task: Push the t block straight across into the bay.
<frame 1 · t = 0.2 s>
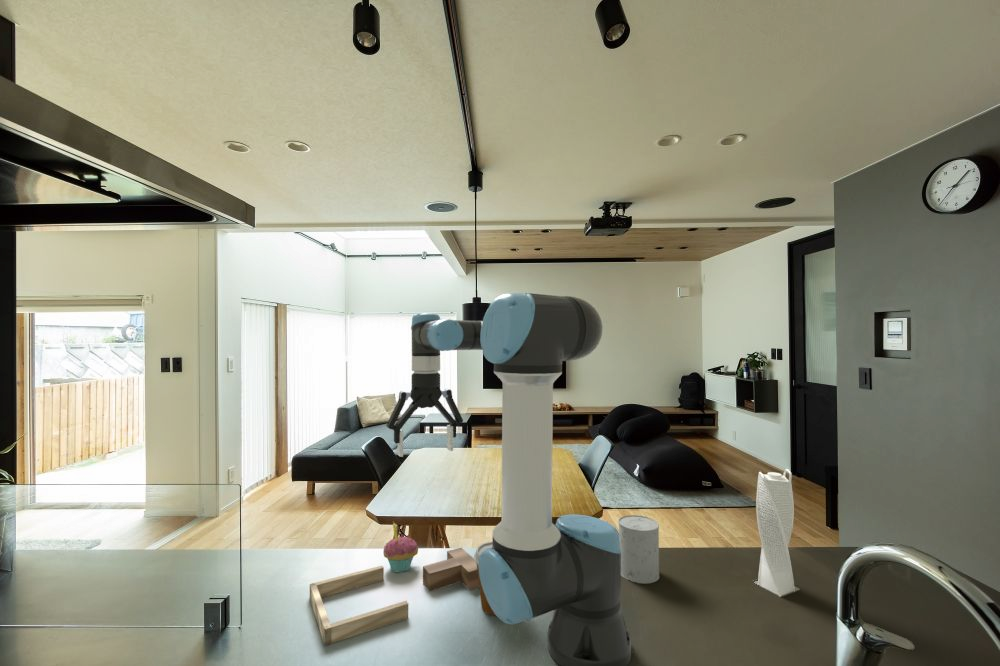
hand: (425, 452, 119), 27 cm above the countertop, fingers open, 13 cm apart
bay: (359, 606, 96), on the countertop
white marble cylinder: (638, 574, 110), on the countertop
t block: (449, 580, 107), on the countertop
disposable coffee cup: (496, 607, 96), on the countertop
cupcake: (400, 568, 113), on the countertop
skyscraper: (776, 590, 103), on the countertop
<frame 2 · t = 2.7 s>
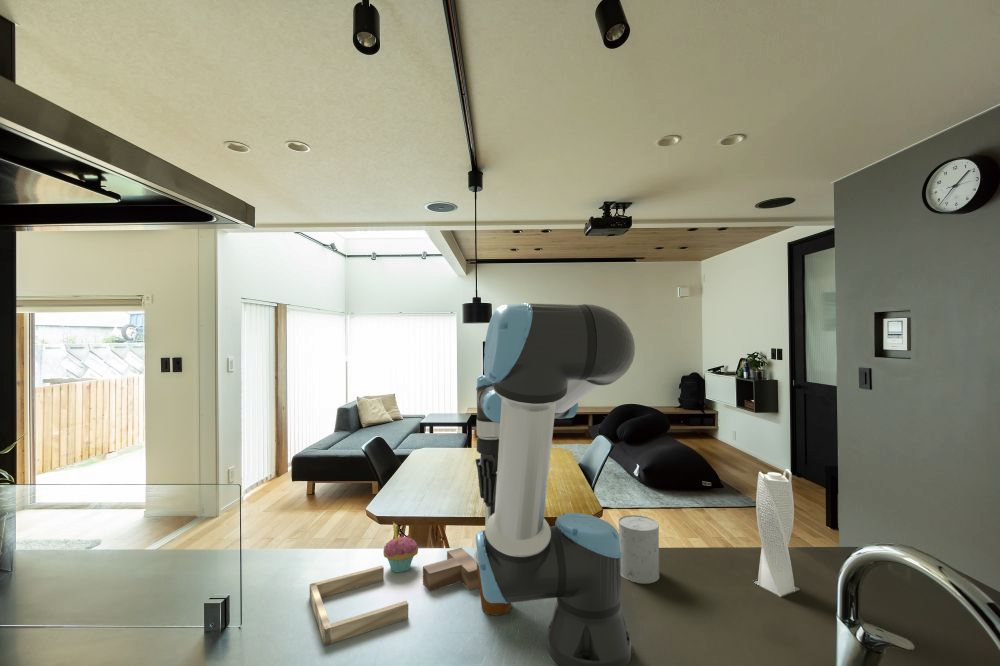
hand: (491, 529, 113), 9 cm above the countertop, fingers closed
nothing on the countertop moved.
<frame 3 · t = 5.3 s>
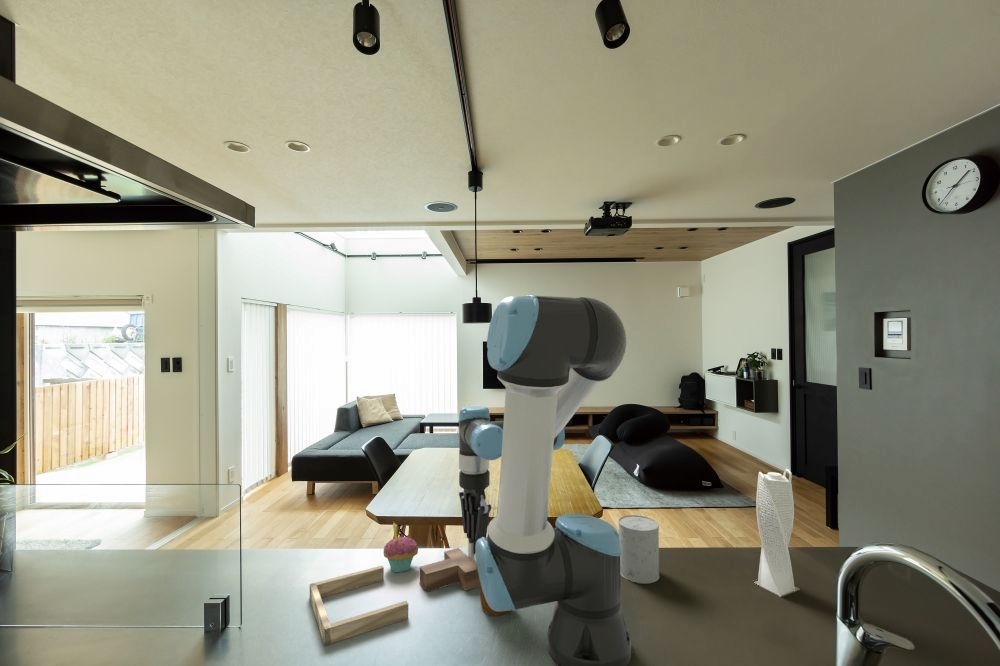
hand: (474, 566, 110), 1 cm above the countertop, fingers closed
t block: (446, 580, 106), on the countertop, touching gripper
everything else where it was.
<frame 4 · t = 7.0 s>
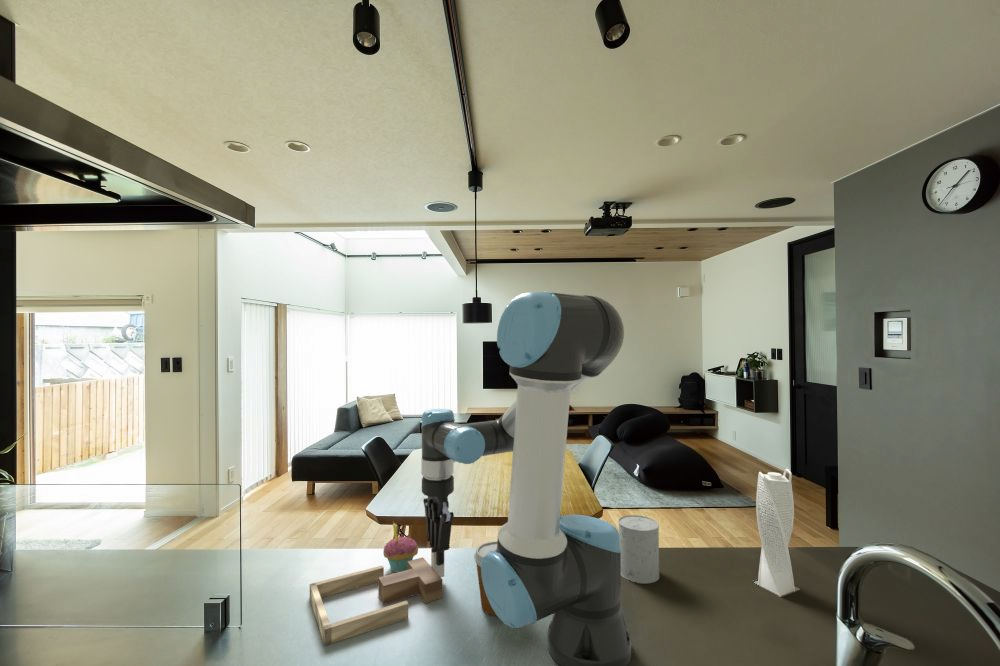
hand: (437, 576, 105), 2 cm above the countertop, fingers closed
t block: (407, 592, 101), on the countertop, touching gripper
everything else where it was.
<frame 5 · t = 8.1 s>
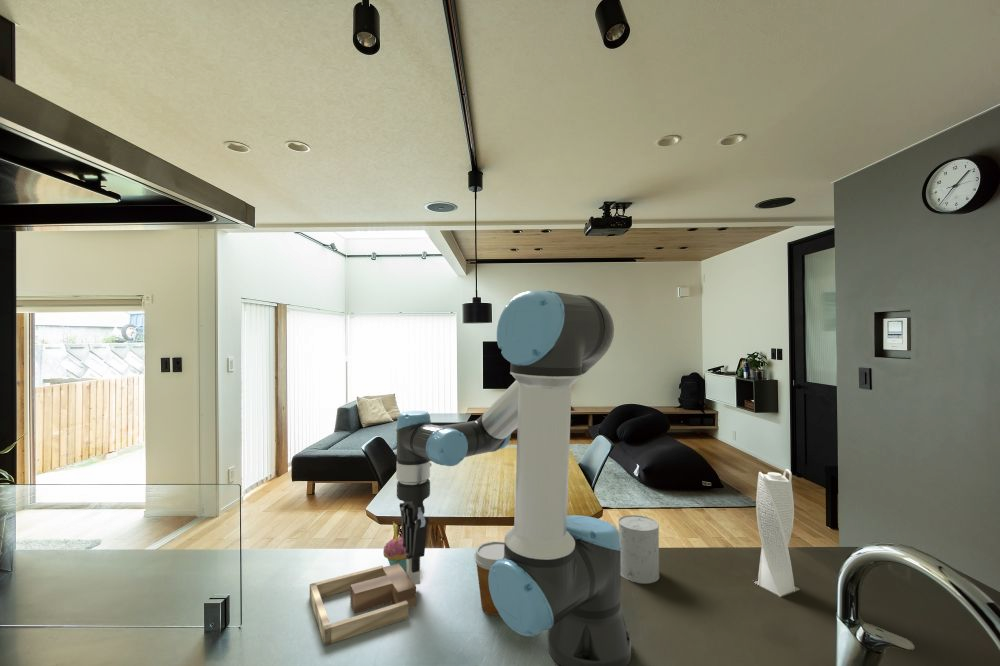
hand: (413, 583, 102), 2 cm above the countertop, fingers closed
t block: (380, 600, 98), on the countertop
everything else where it was.
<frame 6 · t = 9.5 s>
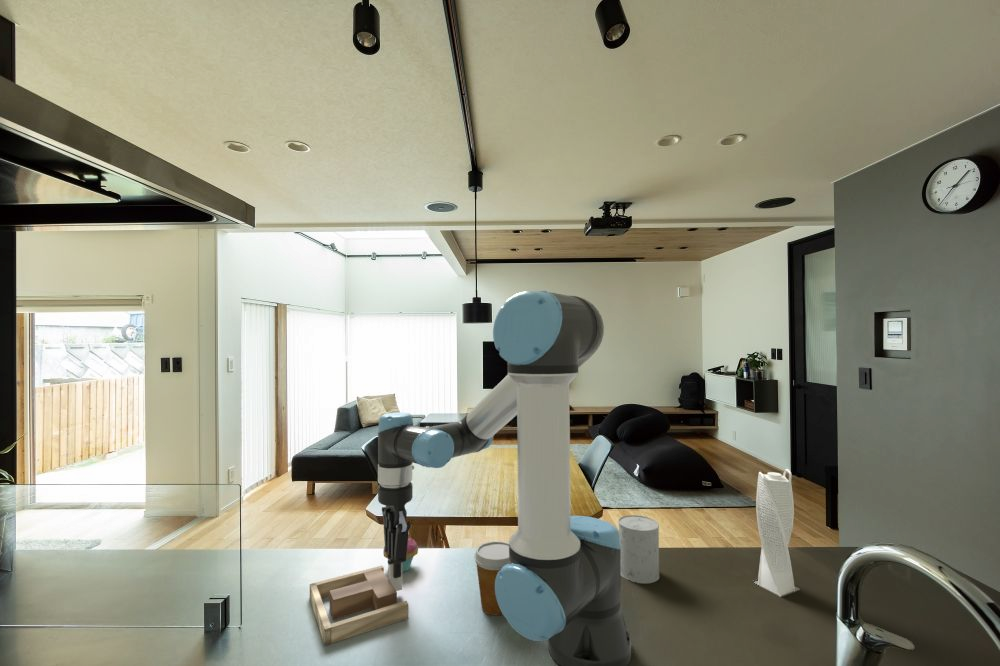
hand: (395, 589, 100), 1 cm above the countertop, fingers closed
t block: (360, 606, 96), on the countertop, touching gripper
everything else where it was.
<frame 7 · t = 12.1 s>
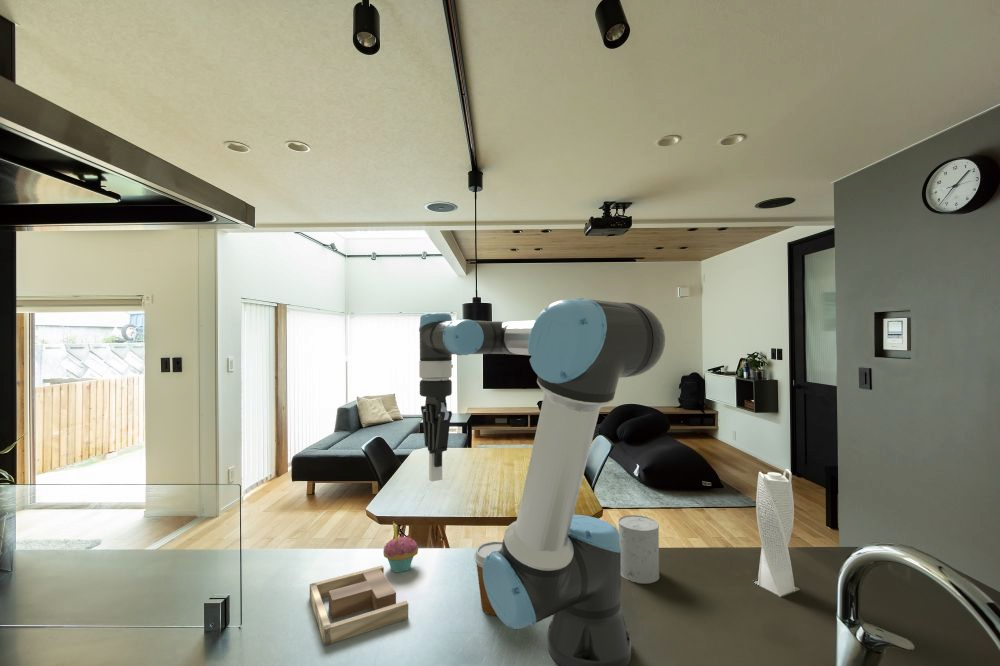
hand: (435, 479, 105), 24 cm above the countertop, fingers closed
t block: (359, 606, 96), on the countertop
everything else where it was.
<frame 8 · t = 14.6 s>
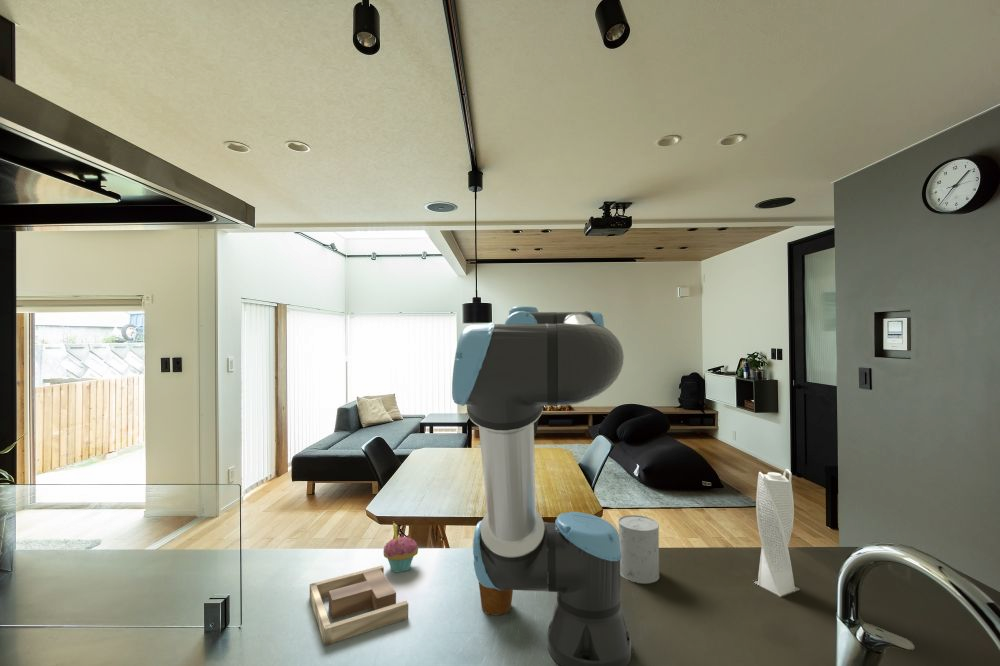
hand: (524, 462, 112), 26 cm above the countertop, fingers closed
nothing on the countertop moved.
at the end: t block inside the target area on the bay (0.9 cm from its centre), point 0.0 cm above the bay's base; t block tilted 0° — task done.
